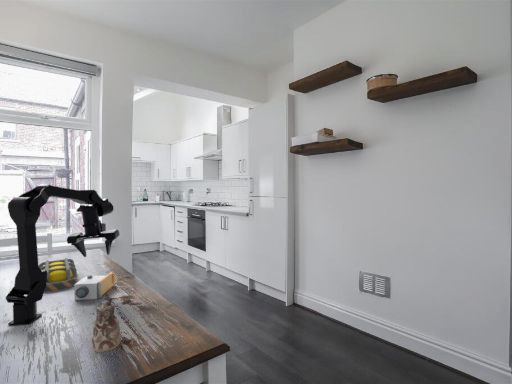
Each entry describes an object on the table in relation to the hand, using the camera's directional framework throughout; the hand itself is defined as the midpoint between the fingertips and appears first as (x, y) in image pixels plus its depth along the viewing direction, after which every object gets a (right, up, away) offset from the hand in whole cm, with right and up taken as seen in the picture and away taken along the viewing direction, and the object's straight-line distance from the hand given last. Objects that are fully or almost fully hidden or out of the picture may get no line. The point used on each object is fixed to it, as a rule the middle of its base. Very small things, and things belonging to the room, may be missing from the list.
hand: (97, 255), depth 125 cm
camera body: (+1, -14, -7) cm, 16 cm away
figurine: (+26, -15, -44) cm, 54 cm away
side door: (+6, -14, -4) cm, 16 cm away
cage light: (-24, -15, +11) cm, 31 cm away
